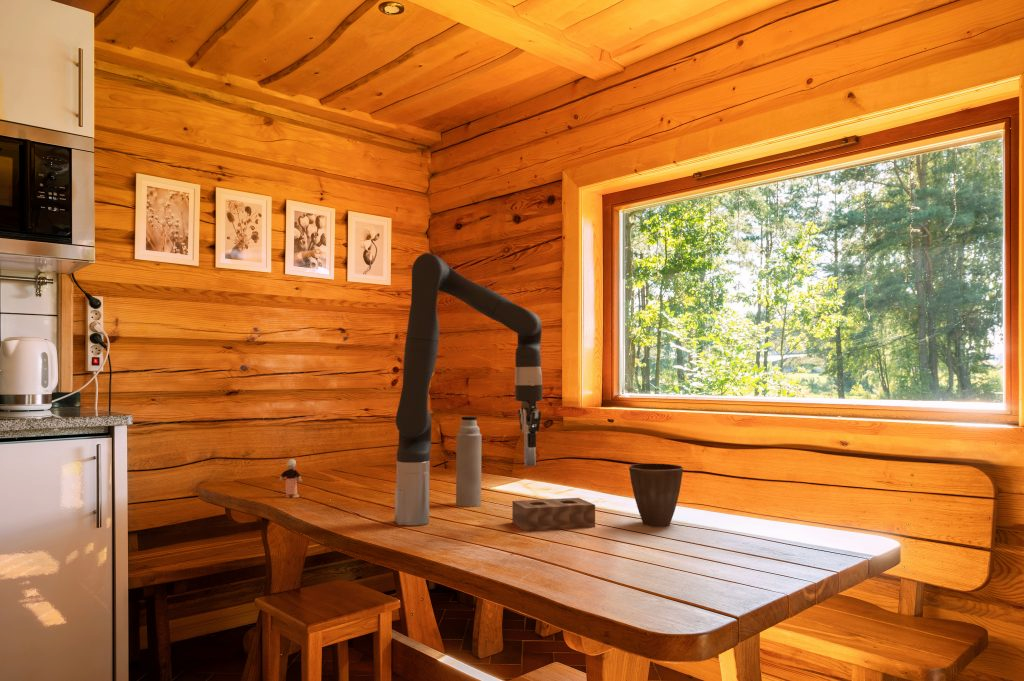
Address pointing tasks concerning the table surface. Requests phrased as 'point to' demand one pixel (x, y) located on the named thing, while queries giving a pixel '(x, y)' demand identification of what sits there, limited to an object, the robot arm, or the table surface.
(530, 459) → the metal pin
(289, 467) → the grandmother figurine
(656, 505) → the plant pot
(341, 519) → the table surface
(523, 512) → the walnut bore block
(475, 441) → the thermos bottle
